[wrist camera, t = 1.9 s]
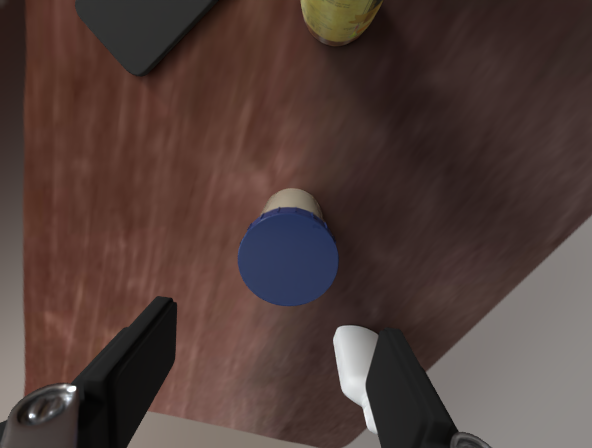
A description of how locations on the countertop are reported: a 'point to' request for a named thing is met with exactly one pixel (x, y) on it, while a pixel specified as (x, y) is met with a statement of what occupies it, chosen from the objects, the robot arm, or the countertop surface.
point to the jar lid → (288, 256)
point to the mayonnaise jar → (294, 201)
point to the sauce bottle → (338, 19)
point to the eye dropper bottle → (355, 365)
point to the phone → (141, 27)
